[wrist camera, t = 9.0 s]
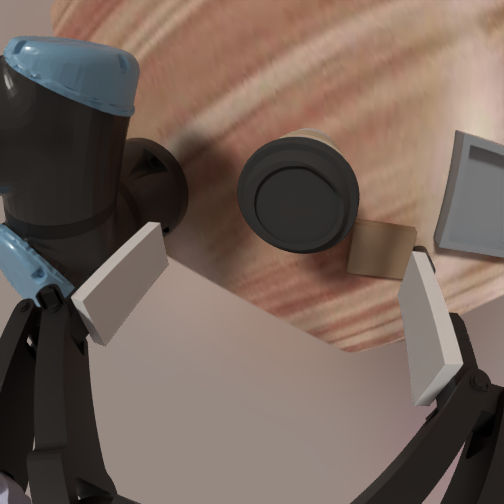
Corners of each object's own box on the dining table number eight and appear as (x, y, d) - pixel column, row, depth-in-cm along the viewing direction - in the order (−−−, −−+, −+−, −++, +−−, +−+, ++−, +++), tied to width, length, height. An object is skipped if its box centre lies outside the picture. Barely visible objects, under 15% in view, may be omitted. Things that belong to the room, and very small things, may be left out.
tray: (433, 237, 32) (438, 247, 30) (455, 129, 24) (464, 133, 22) (508, 250, 28) (516, 259, 26) (535, 158, 21) (545, 164, 19)
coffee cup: (312, 208, 34) (298, 287, 22) (254, 159, 33) (204, 212, 21) (365, 157, 29) (390, 212, 17) (304, 102, 28) (284, 113, 16)
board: (346, 264, 38) (346, 272, 36) (354, 217, 34) (355, 224, 32) (401, 270, 36) (403, 279, 34) (413, 225, 32) (417, 232, 30)
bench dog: (404, 263, 35) (410, 282, 31) (410, 244, 33) (417, 261, 30) (424, 266, 34) (431, 284, 31) (430, 247, 32) (438, 264, 29)
